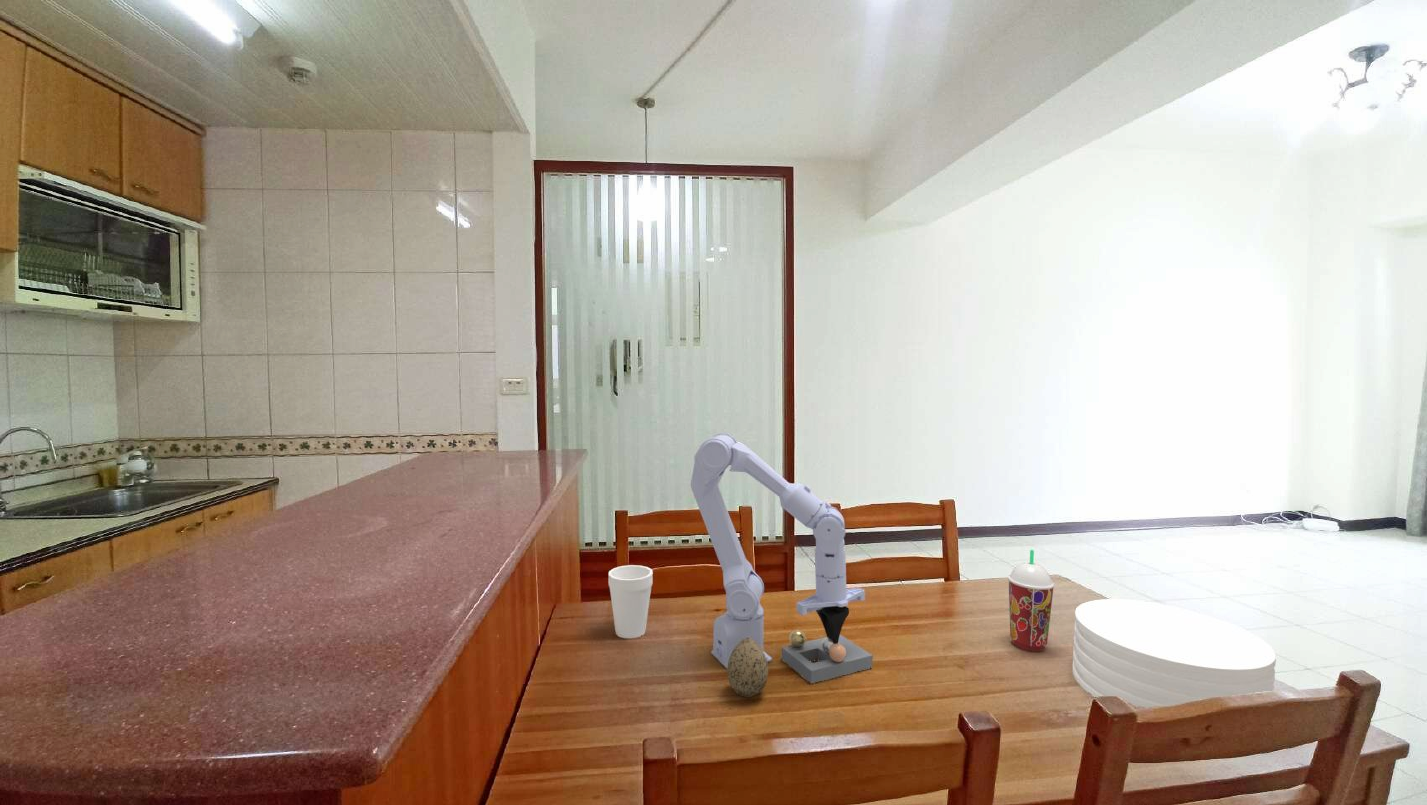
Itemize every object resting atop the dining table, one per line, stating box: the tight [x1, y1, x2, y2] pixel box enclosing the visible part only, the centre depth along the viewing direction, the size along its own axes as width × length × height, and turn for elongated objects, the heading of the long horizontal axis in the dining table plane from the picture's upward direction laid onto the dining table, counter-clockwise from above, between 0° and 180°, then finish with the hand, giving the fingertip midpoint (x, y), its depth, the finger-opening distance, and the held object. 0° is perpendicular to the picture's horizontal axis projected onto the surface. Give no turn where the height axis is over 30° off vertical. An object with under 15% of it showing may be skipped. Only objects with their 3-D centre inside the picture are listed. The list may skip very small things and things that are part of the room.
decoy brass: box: [788, 629, 807, 647], centre depth 116 cm, size 3×3×3 cm
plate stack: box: [1072, 598, 1277, 708], centre depth 106 cm, size 28×28×12 cm
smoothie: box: [1007, 549, 1055, 652], centre depth 123 cm, size 8×8×20 cm
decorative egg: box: [726, 638, 769, 698], centre depth 103 cm, size 7×7×10 cm
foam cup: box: [608, 564, 654, 639], centre depth 127 cm, size 10×9×13 cm
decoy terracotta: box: [829, 643, 846, 662], centre depth 111 cm, size 3×3×3 cm
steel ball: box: [822, 636, 839, 654], centre depth 114 cm, size 3×3×3 cm
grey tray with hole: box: [780, 634, 874, 684], centre depth 114 cm, size 14×10×2 cm
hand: (832, 643), depth 113 cm, fingers closed, pressing on steel ball
